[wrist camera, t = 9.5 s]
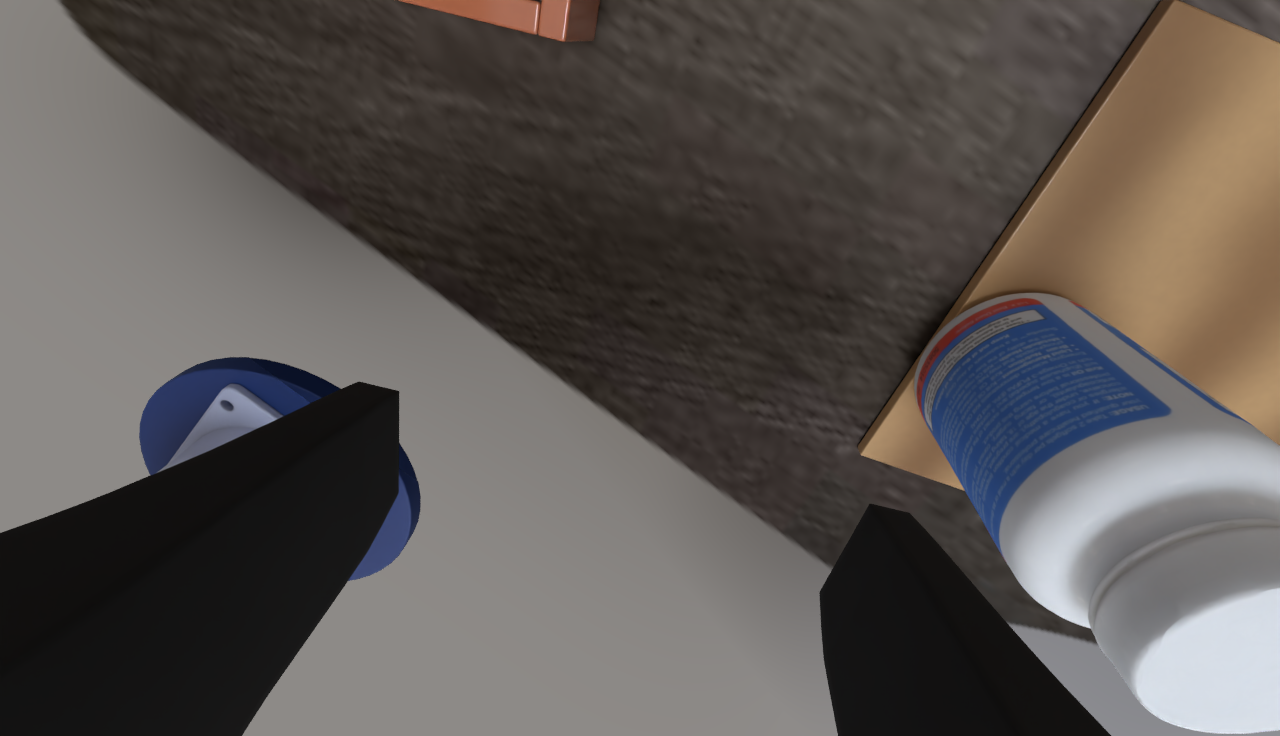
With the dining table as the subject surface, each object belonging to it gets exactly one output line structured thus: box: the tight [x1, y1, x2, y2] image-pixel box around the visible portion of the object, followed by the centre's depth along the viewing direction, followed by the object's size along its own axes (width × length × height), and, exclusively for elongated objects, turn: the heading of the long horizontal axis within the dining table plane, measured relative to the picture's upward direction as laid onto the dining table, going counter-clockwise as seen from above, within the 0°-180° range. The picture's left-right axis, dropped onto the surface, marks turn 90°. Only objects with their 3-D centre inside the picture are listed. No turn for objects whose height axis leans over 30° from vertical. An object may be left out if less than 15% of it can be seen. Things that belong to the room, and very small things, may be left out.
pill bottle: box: [914, 293, 1280, 734], centre depth 14 cm, size 6×5×10 cm
